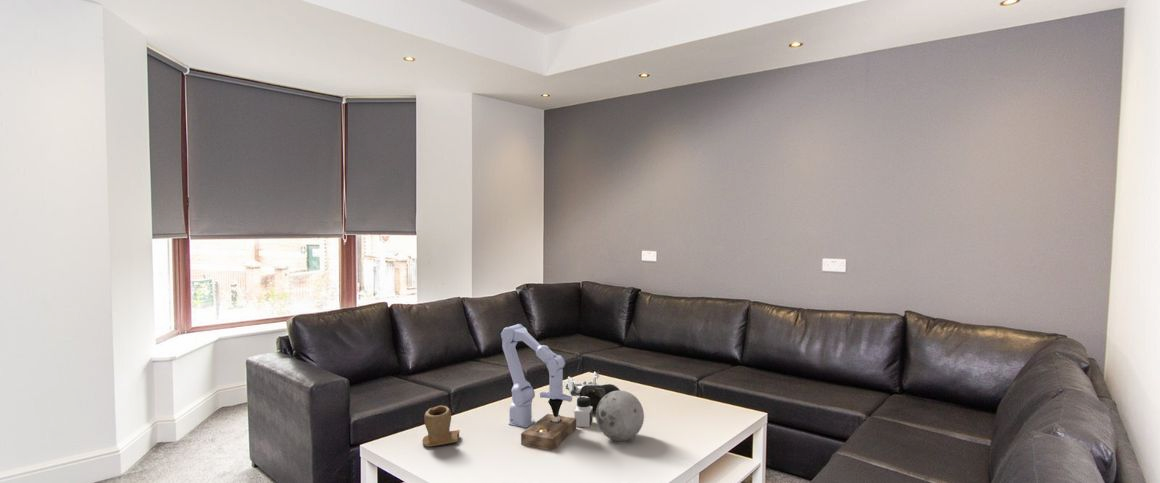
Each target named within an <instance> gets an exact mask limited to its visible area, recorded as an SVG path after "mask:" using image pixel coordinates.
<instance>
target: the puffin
mask: <svg viewBox="0 0 1160 483" xmlns="http://www.w3.org/2000/svg"><path fill="white" fill-rule="evenodd" d="M618 390H620V388H619V387H618V386H617V385H615V384H612V383H611V384H610V383H609V384H607V383H606V384H598V385H585V386H583V387H582V388H581V391H580V393H579V397H582V396H585V397H589V398H590V406H591V407H593V412H595V413H596V409H597V406H598V404H599V402H600V400H601V399H602V398H603V397H604V396H605V395H606V394H608V393H610V392H612V391H618Z"/></svg>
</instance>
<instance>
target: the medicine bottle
mask: <svg viewBox="0 0 1160 483" xmlns="http://www.w3.org/2000/svg"><path fill="white" fill-rule="evenodd" d="M573 412H574V413H573V415H574V417H573V418H576V428H577V427H578V428H591V426H592V424H593V421H594V418H593V415H594V413H593V407H591V406H590V398H589V397H585V396H582V397H580V396H578V397H577V399H576V408H575V409H574V411H573Z"/></svg>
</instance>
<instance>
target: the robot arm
mask: <svg viewBox="0 0 1160 483" xmlns="http://www.w3.org/2000/svg"><path fill="white" fill-rule="evenodd" d="M500 337H501V343H502V344H501V346H502V351H503V353H504V356H505V359H506V360H505V361H506V362H507V367H508V370H509V373H510V376H511V379H512V383H513V386H512V388H511V390H510V391H511V399H512V403H511V404H510V406H509V422H508V425H510V426H511V425H512V426H517V427H523V428H529V427H530V426H532V425H533V424H534V423H536V420H535V419H533V418H532V417H533V416H532V415H533V414H532V412H533V411H532V405H533V404H532V403H533V399H534V398H535V397H536V396H535V394H536V392H535V390H534V388H533V386H532V385H531V383H530V382H529V381H528V380H526V377H525V374H524V371H523V368H522V365H521V361H520V358H519V355H518V352H517V349H516V346H517V345H518V342H523V343H524V344H525V345H527V346H528V347H530V348H531V349H532V350H534V351H535V355H536V357H537V358H539V359H540V360H541V361H542V362H543V363H544V364H545V365H546V369H547V370H548V374H549V376H548V377H549V380H548V381H549V383H548V384H549V388H548V389H549V390H548V391H549V392H547V391H541V392H539V398H541V399H543V398H545V399H548V402H547V403H548V404H549V407H550V409H551V412H552V415H553V416H555V417H557V416H558V415H560V413H559V412H560V409H561V407H562V404H563V402H564V401H566V402H568V403H571V402H572V401H573V395H567V394H565V393H564V390H563V388H564V387H563V386H564V385H563V380H564V378H563V377H564V376H563V374H564V370H563V368H564V367H565V365H566V360H565V358H564V357H563V356H562V355H560V354H557V353H555V352H554V351H552V350H551V349H550V348H549V346H548V345H545V344H542V345H541V344H540V343H539V342H538V341H537V340H536V339H535V337H533V336H532V335H531V334H530V333H529V332H528V329H527V327H525V326H523V324H521V323H517V324H514V325H511V326H506V327H504V328H503V329H502V331H501V333H500Z"/></svg>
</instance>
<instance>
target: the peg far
mask: <svg viewBox="0 0 1160 483" xmlns="http://www.w3.org/2000/svg"><path fill="white" fill-rule="evenodd" d="M560 416H561V414H558V416H557V417H555V416H553V414H552V422H553V423H560Z"/></svg>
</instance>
